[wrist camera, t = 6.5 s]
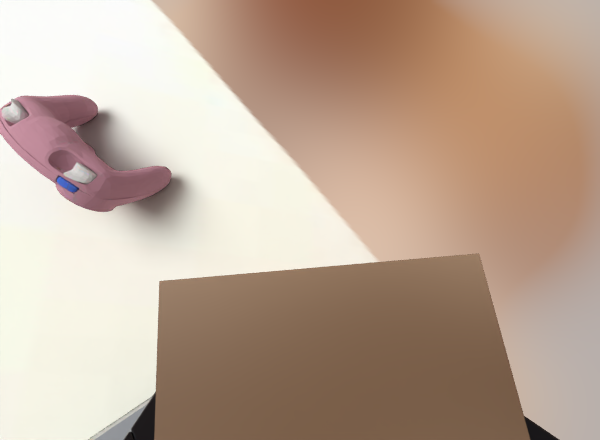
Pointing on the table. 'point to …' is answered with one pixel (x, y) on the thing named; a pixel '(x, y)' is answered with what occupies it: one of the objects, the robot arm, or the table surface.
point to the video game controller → (73, 152)
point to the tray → (121, 425)
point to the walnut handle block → (336, 355)
